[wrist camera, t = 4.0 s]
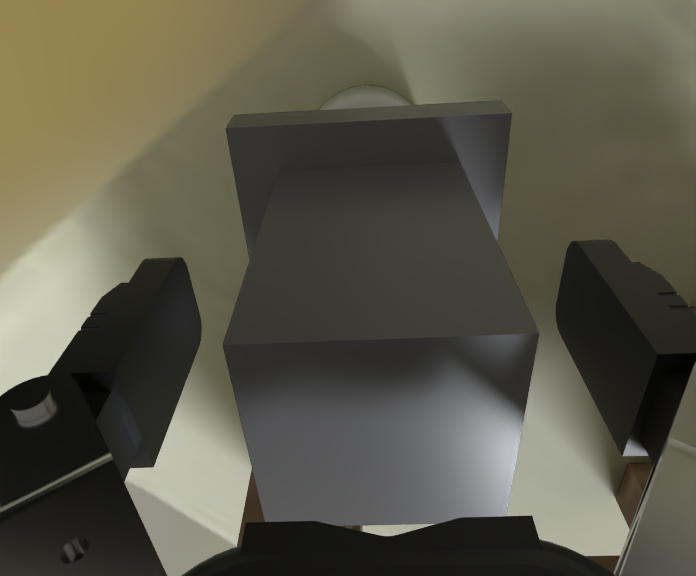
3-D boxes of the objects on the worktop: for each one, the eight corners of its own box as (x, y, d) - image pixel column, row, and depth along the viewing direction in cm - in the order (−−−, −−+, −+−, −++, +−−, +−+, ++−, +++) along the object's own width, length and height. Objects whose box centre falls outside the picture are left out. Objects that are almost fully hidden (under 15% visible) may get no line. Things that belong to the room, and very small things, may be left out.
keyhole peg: (269, 61, 17) (123, 283, 6) (457, 50, 17) (640, 261, 6) (291, 228, 20) (218, 561, 10) (448, 221, 20) (556, 554, 9)
